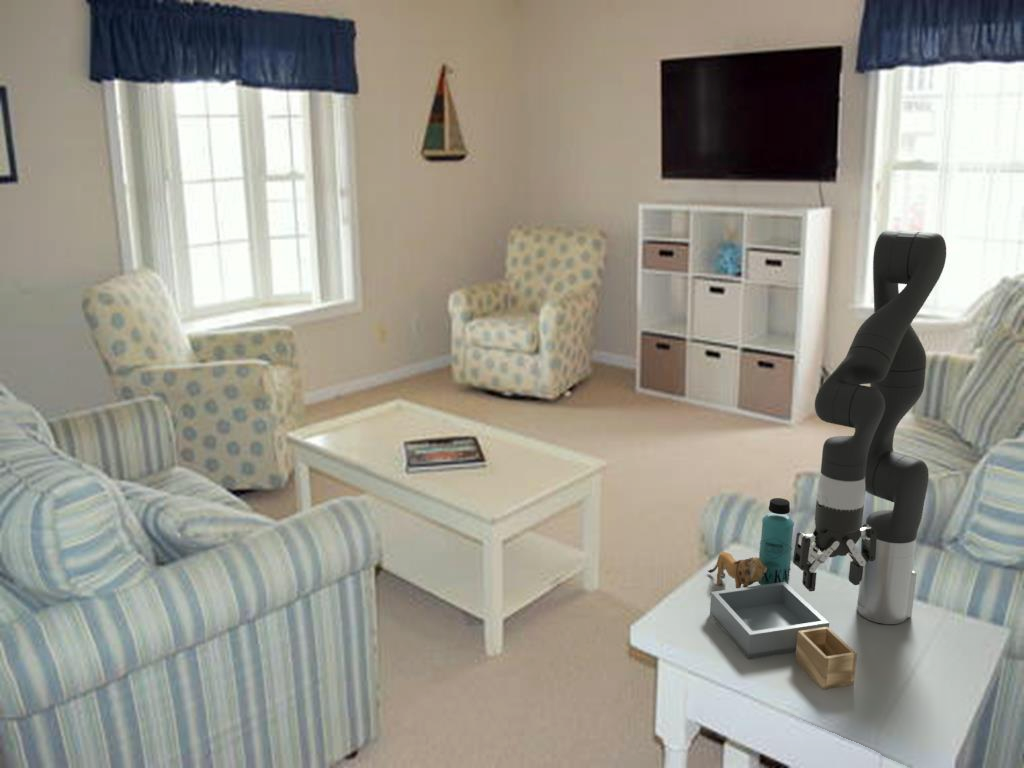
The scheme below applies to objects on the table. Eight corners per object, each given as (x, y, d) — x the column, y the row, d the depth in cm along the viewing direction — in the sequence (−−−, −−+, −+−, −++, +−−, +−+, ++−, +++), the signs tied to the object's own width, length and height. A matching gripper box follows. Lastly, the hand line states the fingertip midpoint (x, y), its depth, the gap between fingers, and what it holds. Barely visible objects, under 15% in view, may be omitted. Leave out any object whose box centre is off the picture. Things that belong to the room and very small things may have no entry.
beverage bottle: (754, 580, 194) (760, 493, 188) (786, 582, 193) (793, 494, 188) (758, 596, 188) (764, 506, 182) (791, 598, 187) (798, 507, 181)
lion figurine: (769, 598, 187) (771, 558, 184) (750, 606, 184) (753, 565, 182) (716, 570, 199) (718, 532, 196) (698, 577, 196) (700, 539, 193)
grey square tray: (783, 604, 185) (784, 581, 183) (827, 646, 170) (829, 622, 168) (709, 614, 181) (711, 592, 180) (748, 659, 166) (750, 634, 165)
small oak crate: (824, 655, 167) (827, 626, 165) (853, 684, 159) (857, 653, 157) (795, 660, 166) (797, 631, 164) (822, 689, 157) (825, 658, 156)
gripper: (864, 486, 158) (855, 571, 162) (790, 494, 155) (782, 580, 159) (891, 503, 151) (881, 591, 155) (814, 512, 148) (805, 602, 152)
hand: (831, 586), depth 157 cm, fingers open, 8 cm apart
